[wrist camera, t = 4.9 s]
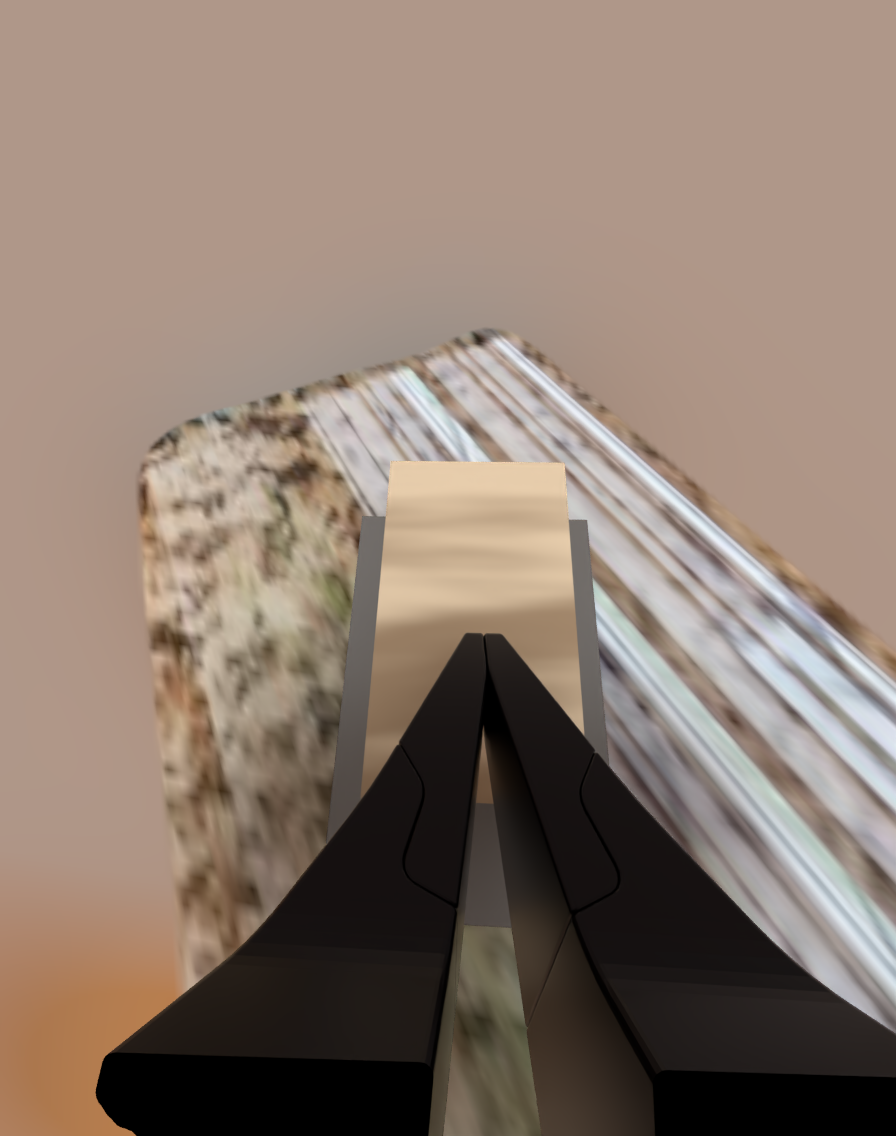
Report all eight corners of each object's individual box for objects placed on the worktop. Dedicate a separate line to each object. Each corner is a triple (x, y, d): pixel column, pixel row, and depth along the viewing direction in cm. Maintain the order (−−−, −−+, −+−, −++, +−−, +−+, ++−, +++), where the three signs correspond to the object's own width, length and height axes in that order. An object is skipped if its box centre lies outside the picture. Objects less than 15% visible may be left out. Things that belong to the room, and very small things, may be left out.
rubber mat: (621, 930, 13) (624, 934, 13) (319, 912, 13) (317, 916, 13) (585, 521, 18) (587, 519, 17) (363, 517, 18) (362, 516, 18)
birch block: (590, 808, 11) (564, 462, 14) (360, 797, 11) (390, 461, 15) (558, 777, 14) (544, 503, 18) (383, 769, 14) (403, 501, 18)
